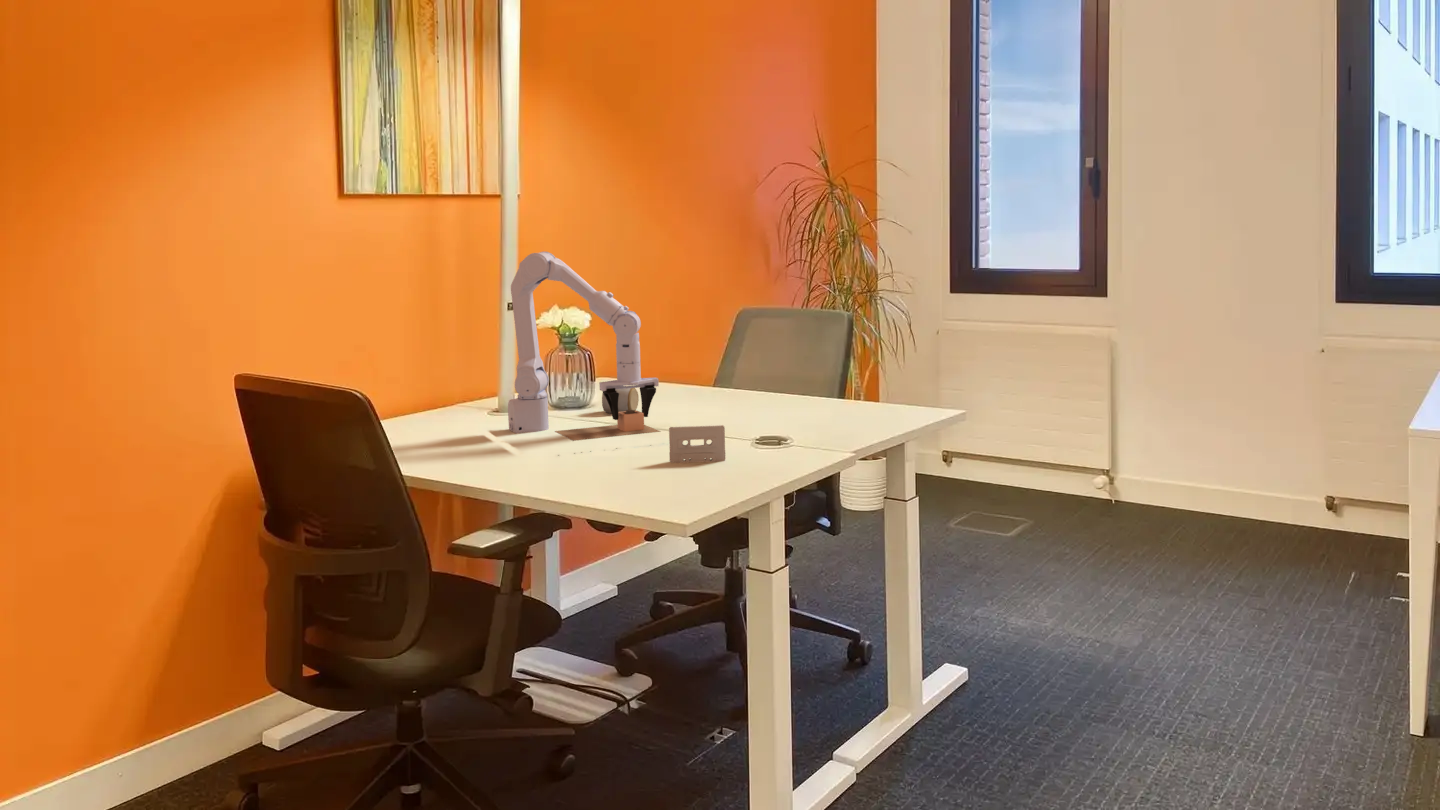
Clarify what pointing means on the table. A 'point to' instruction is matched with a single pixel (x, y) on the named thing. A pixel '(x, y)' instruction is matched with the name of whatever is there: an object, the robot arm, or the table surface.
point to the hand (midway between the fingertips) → (630, 417)
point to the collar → (630, 421)
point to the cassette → (697, 451)
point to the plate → (602, 431)
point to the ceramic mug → (623, 400)
